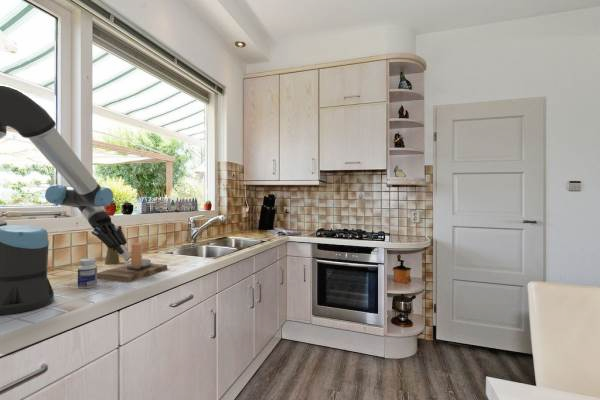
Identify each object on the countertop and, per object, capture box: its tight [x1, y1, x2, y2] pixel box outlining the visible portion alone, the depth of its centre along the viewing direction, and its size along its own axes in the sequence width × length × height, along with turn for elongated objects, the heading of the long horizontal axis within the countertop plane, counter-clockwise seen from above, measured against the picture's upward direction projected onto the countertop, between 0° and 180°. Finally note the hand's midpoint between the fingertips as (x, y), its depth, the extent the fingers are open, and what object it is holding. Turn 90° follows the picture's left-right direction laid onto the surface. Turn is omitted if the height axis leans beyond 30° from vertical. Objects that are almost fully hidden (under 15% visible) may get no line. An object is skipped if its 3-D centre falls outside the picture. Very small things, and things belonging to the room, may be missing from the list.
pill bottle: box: [77, 257, 98, 290], centre depth 105 cm, size 6×6×10 cm
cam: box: [126, 242, 152, 269], centre depth 126 cm, size 20×9×12 cm, turn 23°
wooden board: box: [97, 262, 168, 283], centre depth 124 cm, size 22×16×2 cm
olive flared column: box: [104, 244, 120, 266], centre depth 141 cm, size 6×6×11 cm
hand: (128, 258), depth 119 cm, fingers closed
